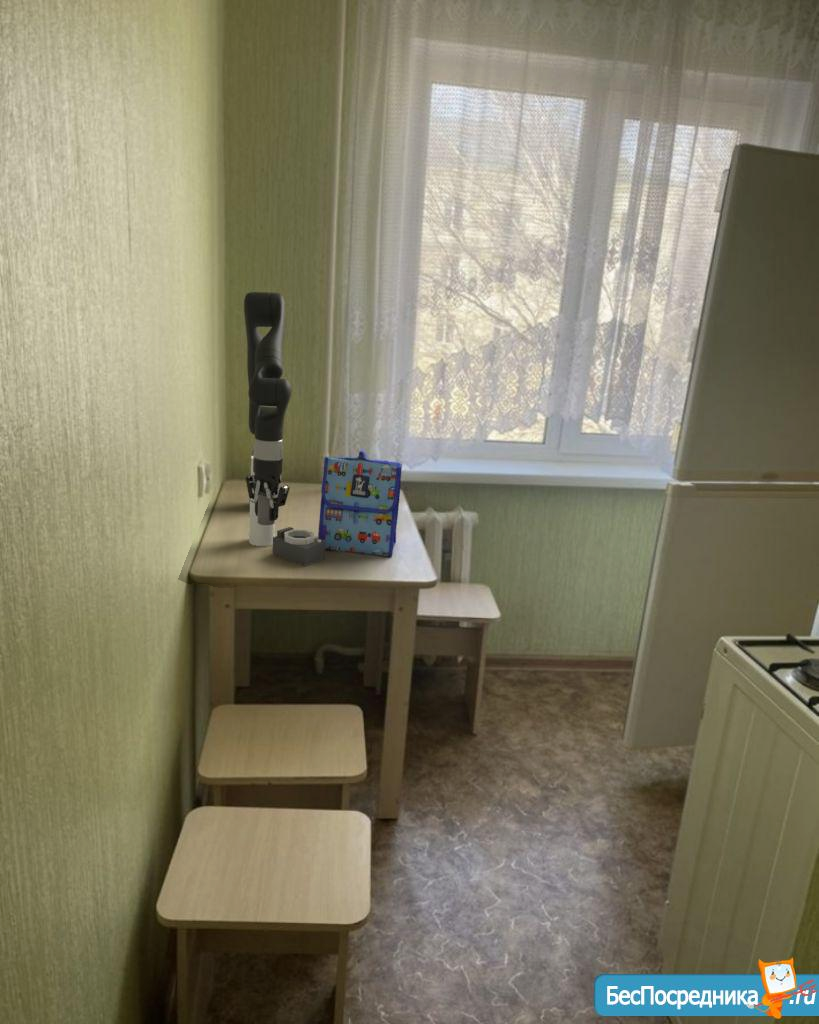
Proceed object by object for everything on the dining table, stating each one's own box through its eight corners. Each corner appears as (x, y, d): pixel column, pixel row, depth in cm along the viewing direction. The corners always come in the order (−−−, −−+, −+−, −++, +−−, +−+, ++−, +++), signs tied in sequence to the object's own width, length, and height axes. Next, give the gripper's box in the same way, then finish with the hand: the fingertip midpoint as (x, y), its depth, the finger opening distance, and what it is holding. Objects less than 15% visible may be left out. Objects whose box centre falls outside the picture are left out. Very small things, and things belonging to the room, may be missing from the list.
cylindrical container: (250, 546, 215) (252, 460, 207) (248, 537, 221) (250, 454, 214) (275, 546, 217) (278, 460, 209) (272, 537, 223) (275, 454, 216)
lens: (253, 522, 202) (254, 491, 199) (265, 518, 205) (266, 487, 203) (266, 526, 199) (267, 495, 197) (278, 522, 203) (279, 491, 200)
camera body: (272, 554, 210) (273, 531, 208) (292, 547, 217) (293, 525, 215) (305, 566, 204) (306, 543, 202) (324, 558, 211) (325, 536, 209)
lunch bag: (316, 550, 217) (322, 451, 208) (324, 535, 230) (330, 441, 221) (392, 558, 216) (401, 459, 207) (396, 542, 229) (404, 448, 220)
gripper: (237, 451, 197) (236, 514, 203) (278, 463, 190) (276, 528, 195) (258, 447, 203) (257, 508, 209) (298, 458, 196) (296, 521, 201)
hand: (266, 517), depth 202 cm, fingers closed on lens, 4 cm apart
